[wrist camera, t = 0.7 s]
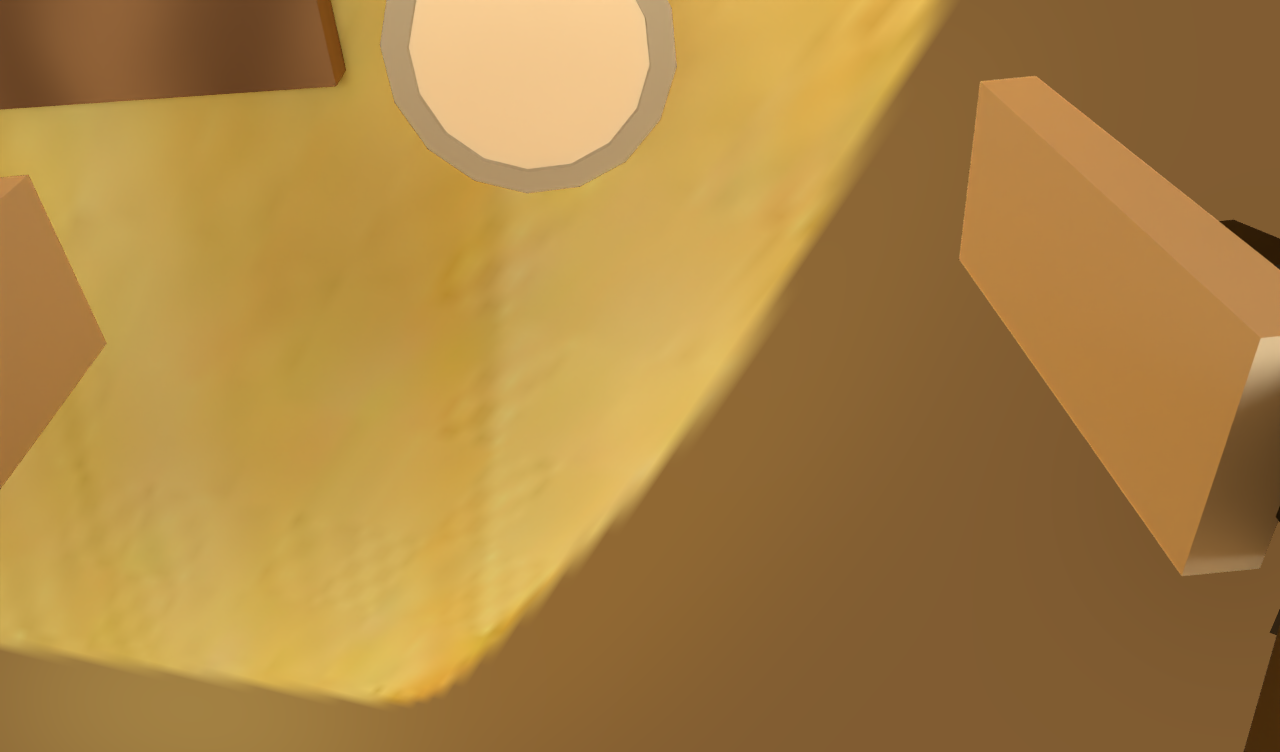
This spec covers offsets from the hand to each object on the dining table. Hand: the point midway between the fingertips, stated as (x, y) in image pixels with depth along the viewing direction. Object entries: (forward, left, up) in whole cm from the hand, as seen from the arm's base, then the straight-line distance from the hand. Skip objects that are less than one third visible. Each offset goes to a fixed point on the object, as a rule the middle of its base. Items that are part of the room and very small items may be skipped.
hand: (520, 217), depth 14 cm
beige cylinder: (0, -1, -17) cm, 17 cm away
